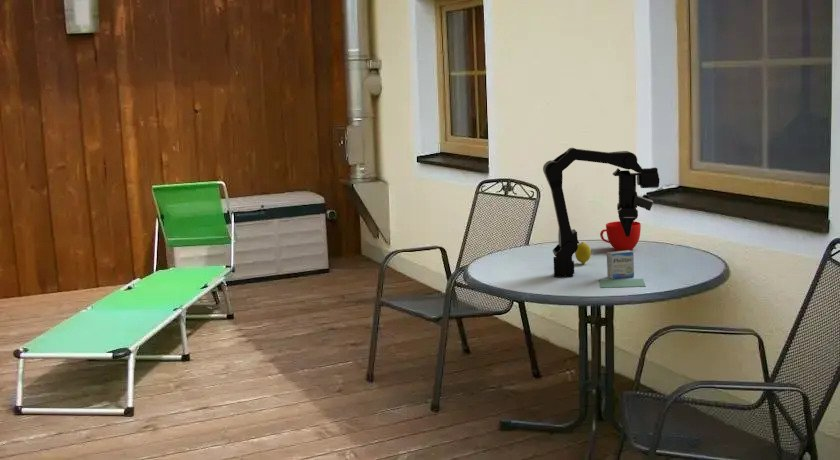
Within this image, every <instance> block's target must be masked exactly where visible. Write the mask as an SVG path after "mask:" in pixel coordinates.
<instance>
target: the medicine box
mask: <svg viewBox="0 0 840 460" xmlns="http://www.w3.org/2000/svg"><path fill="white" fill-rule="evenodd" d="M634 257H635V255H634V251H633V250H631V251H630V250H625V251H616V250H615V251H608V252H606V274H607V275H606V276H607V277H608V278H610V280H615V279H630V278H634V277H635V265H634V264H635V263H634V260H635V259H634Z"/></svg>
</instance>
